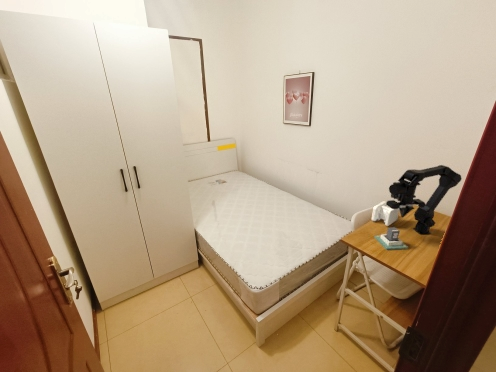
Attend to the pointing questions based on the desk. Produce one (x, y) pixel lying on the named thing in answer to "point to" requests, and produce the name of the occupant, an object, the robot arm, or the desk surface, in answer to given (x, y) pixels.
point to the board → (390, 246)
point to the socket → (390, 243)
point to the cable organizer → (385, 213)
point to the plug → (392, 234)
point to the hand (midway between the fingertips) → (402, 216)
